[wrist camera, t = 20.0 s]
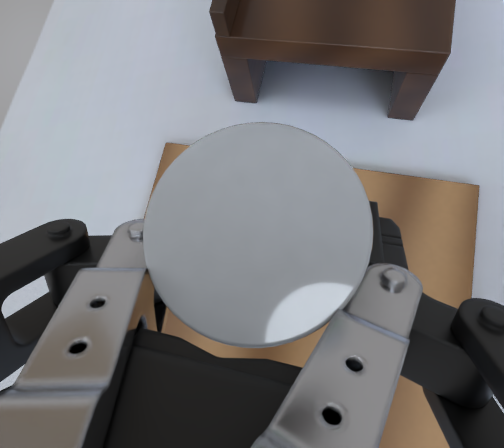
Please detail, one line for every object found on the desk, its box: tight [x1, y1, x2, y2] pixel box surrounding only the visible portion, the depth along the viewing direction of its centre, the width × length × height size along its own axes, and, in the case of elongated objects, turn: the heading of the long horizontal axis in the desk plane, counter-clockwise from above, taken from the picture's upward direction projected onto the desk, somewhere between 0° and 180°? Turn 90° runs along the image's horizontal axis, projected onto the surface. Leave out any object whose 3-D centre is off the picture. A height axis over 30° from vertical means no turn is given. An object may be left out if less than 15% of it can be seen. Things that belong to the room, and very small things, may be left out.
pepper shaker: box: [143, 122, 373, 348], centre depth 12 cm, size 4×4×10 cm
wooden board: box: [144, 143, 479, 448], centre depth 21 cm, size 20×16×1 cm
